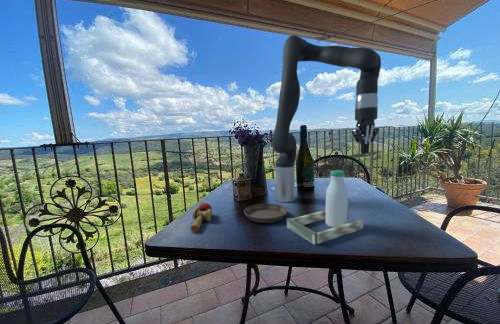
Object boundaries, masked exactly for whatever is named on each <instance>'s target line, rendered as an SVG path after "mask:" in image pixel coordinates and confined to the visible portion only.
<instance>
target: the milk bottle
mask: <svg viewBox="0 0 500 324" xmlns="http://www.w3.org/2000/svg"><path fill="white" fill-rule="evenodd" d="M329 173H330V182H329V185H328V186H327V188H326V192H325V210H326V219H325V224H326V225H327V226H328V227H329V228H330V227H331V228H334V227H337V226H340V225H344V224H347V223H349V191H348V188H347V186H346V183H345V171H344V170H342V169H341V170H339V169H334V170H333V169H332V170H331V171H330V172H329Z"/></svg>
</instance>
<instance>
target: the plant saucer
mask: <svg viewBox="0 0 500 324" xmlns="http://www.w3.org/2000/svg"><path fill="white" fill-rule="evenodd" d="M287 213H288V209H287V208H286V207H284V206H283V205H280V204H275V203H257V204H253V205H250V206H247V207H245V208H244V210H243V214H245V216H246V217H247V218H248V219H249V220H250V221H253V222H255V223H258V224H259V223H260V224H261V223H262V224H270V223H275V222H278V221H281V220H282V219H283V218H284V217H285V216H286V214H287Z"/></svg>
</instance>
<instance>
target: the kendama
mask: <svg viewBox="0 0 500 324" xmlns="http://www.w3.org/2000/svg"><path fill="white" fill-rule="evenodd" d="M212 214H213V209H212V206H211V205H210V204H209V203H207V202H203V203H200V204H199V205H198V207H197V208H194V209H193V211H192V219H193V220H195V221H193V223H192V225H191V226H190V231H191V232H192V233H198V232H199V231H200V226H201V224H202V222H203V219H205V221H206V222H210V221H211V219H212V216H213V215H212Z"/></svg>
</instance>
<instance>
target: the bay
mask: <svg viewBox="0 0 500 324" xmlns="http://www.w3.org/2000/svg"><path fill="white" fill-rule="evenodd" d="M323 220H326V209H324V210H322V211H317V212H312V213H308V214H305V215H301V216H296V217H293V218H292V217H291V218H290V217H287V218H286V228H287V230H289V231H292V233H294V234H296V235H298V236H300V237H301V238H303V239H304V240H306V241H308V242H309V243H311V244H313V245H315V246H316V245H318V244H322V243H325V242H327V241H330V240H335V239H337V238H340V237H342V236H345V235H348V234H352V233H355V232H358V231H361V230H363V229H364V220H363V219H357V220H354V221H350V222H348V223H347V224H344V225H340V226H337V227H334V228H332V227H331V228H330V227H329V228H328V229H324V230H322V231H318V232H316V231H314V230H313V229H310V228H309V227H306V226H305V225H308V224H312V223H316V222H320V221H323Z"/></svg>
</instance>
